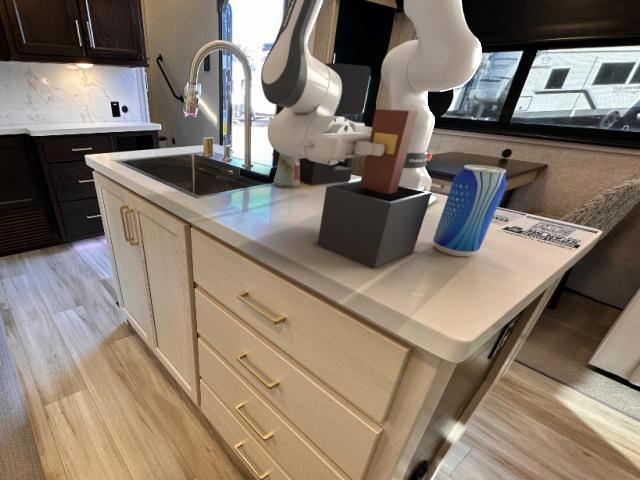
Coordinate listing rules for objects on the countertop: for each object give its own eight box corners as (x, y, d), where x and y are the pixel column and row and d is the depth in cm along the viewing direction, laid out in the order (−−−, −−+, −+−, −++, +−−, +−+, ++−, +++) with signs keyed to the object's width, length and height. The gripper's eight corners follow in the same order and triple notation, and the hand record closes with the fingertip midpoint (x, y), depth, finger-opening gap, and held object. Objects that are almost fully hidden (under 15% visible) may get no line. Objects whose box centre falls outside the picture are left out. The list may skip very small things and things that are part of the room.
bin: (357, 232, 77) (368, 178, 71) (413, 251, 68) (432, 192, 62) (317, 244, 70) (326, 186, 64) (374, 268, 61) (391, 203, 55)
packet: (368, 185, 66) (386, 109, 59) (397, 192, 62) (418, 111, 55) (359, 187, 64) (375, 109, 58) (387, 194, 60) (408, 111, 53)
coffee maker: (359, 183, 122) (384, 65, 103) (318, 188, 113) (337, 60, 95) (309, 169, 142) (322, 68, 124) (271, 172, 134) (278, 65, 115)
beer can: (483, 260, 66) (521, 174, 57) (437, 255, 67) (468, 170, 59) (468, 244, 73) (499, 165, 64) (426, 240, 74) (452, 162, 66)
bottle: (269, 183, 118) (276, 88, 103) (293, 182, 120) (303, 89, 105) (278, 189, 111) (286, 88, 96) (303, 188, 113) (315, 89, 98)
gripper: (295, 124, 61) (360, 131, 52) (363, 122, 72) (426, 128, 63) (291, 161, 64) (351, 174, 55) (357, 154, 75) (416, 164, 66)
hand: (392, 149), depth 59 cm, fingers closed on packet, 3 cm apart
